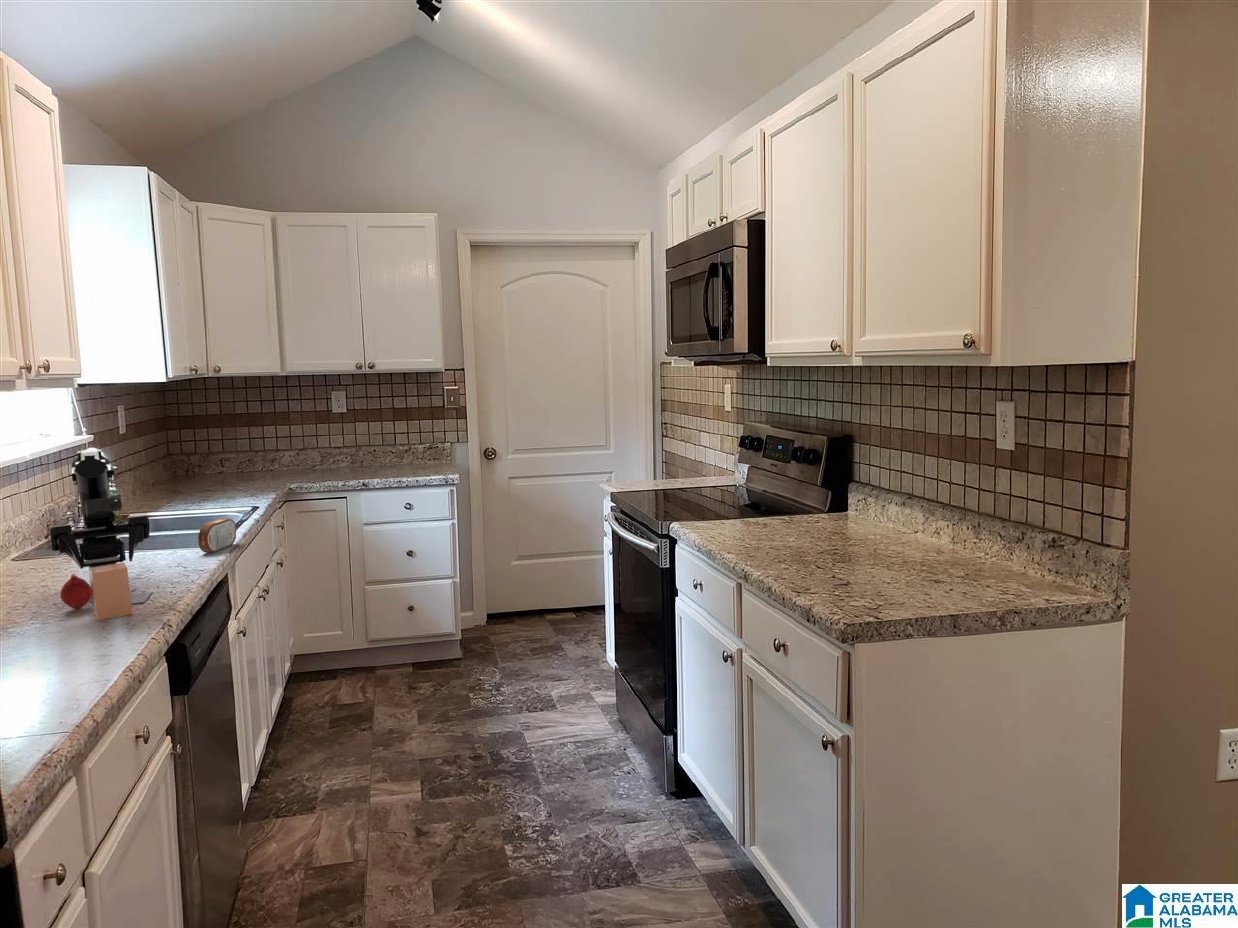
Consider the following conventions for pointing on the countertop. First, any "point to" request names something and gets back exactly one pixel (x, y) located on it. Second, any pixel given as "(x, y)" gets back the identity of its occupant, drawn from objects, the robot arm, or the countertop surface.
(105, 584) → the tan rectangular block
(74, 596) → the onion
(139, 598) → the mat
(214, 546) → the tin
